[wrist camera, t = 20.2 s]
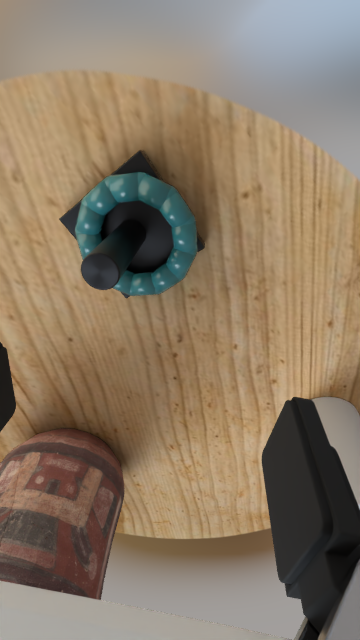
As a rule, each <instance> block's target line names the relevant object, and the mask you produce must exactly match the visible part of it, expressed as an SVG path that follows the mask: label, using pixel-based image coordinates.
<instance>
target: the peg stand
mask: <svg viewBox="0 0 360 640" xmlns="http://www.w3.org/2000/svg"><path fill="white" fill-rule="evenodd" d="M134 172H144V173H147V174H149V175H151V176H153V177H155V178H157V179H159V180H161V181H163V180H162V178H161V177H160V175H159V174H158V172H157V171H156V169H155V168H154V166H153V165H152V163H151V162H150V160H149V159H148V157H147V156H146V154H145V153H144V151H143V150H140V151H138V152H137V153H136V154H135V155H134V156H132V157H131V158H130V159H129V160H128V161H127V162H125V163H124V164H123V165H122V166H121V167H119V168H118V169H117V170H116V171H115V172H114V173H112V174H111V175H117V174H126V173H134ZM163 182H164V181H163ZM81 202H82V200H81V201H80V202H79V203H77V204H76V205H75V206H74V207H73V208H71V209H70V210H69V211H68V212H67V213H66V214H64V215H63V216H62V217H61V218H60V219H59V220H60V221H61V222H62V223H63V224H64V226H65V227H66V228H67V229H68V230H69V232H70V233H71V234H72V235H73V236H74V237H75V239H76V240H77V237H76V234H75V226H76V222H77V218H78V214H79V210H80V206H81ZM101 237H102V242H101V243H100V244H99V245H98V246H97V247H96V248H95V249H94V250H93V251H91V252H90V253H89V254H88V255H87V256H86V257H85V258H84V260H83V261H82V264H81V272H82V276H83V278H84V279H85V281H86V282H87V283H88V284H89V285H90V286H92V287H94V288H96V289H99V290H107V289H111V288H113V287H114V286H115V285H116V284H117V283H118V281H119V280H120V278H121V277H122V275H123V274H124V272H125V270H128V271H131V272H133V273H146V272H153V271H155V270H156V269H158V268H159V267H161V266H162V265H163V264H165V263H166V262H167V260H168V258H169V255H170V253H171V251H172V249H173V238H172V230H171V226H170V225H169V223H168V222H167V221H166V219H165V218H164V216H163V215H162V214H161V212H160V211H159V210H158V209H156V208H154V207H152V206H150V205H147V204H145V203H143V202H141V201H133V202H123V203H119V204H118V205H117V206H115V207H114V208H113V209H112V210H111V211H109V212H108V213H107V214H106V215H105V219H104V222H103V225H102V229H101ZM197 243H198V251H197V252H199V251H200V250H202V249H203V248H205V243H204V242H203V240H202V239H201V237H200V236H199V234H198V233H197ZM121 293H122V294H123V295H124V296H125V298H128V297H129V296H130V295H128V294H125V293H123V292H121Z"/></svg>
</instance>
